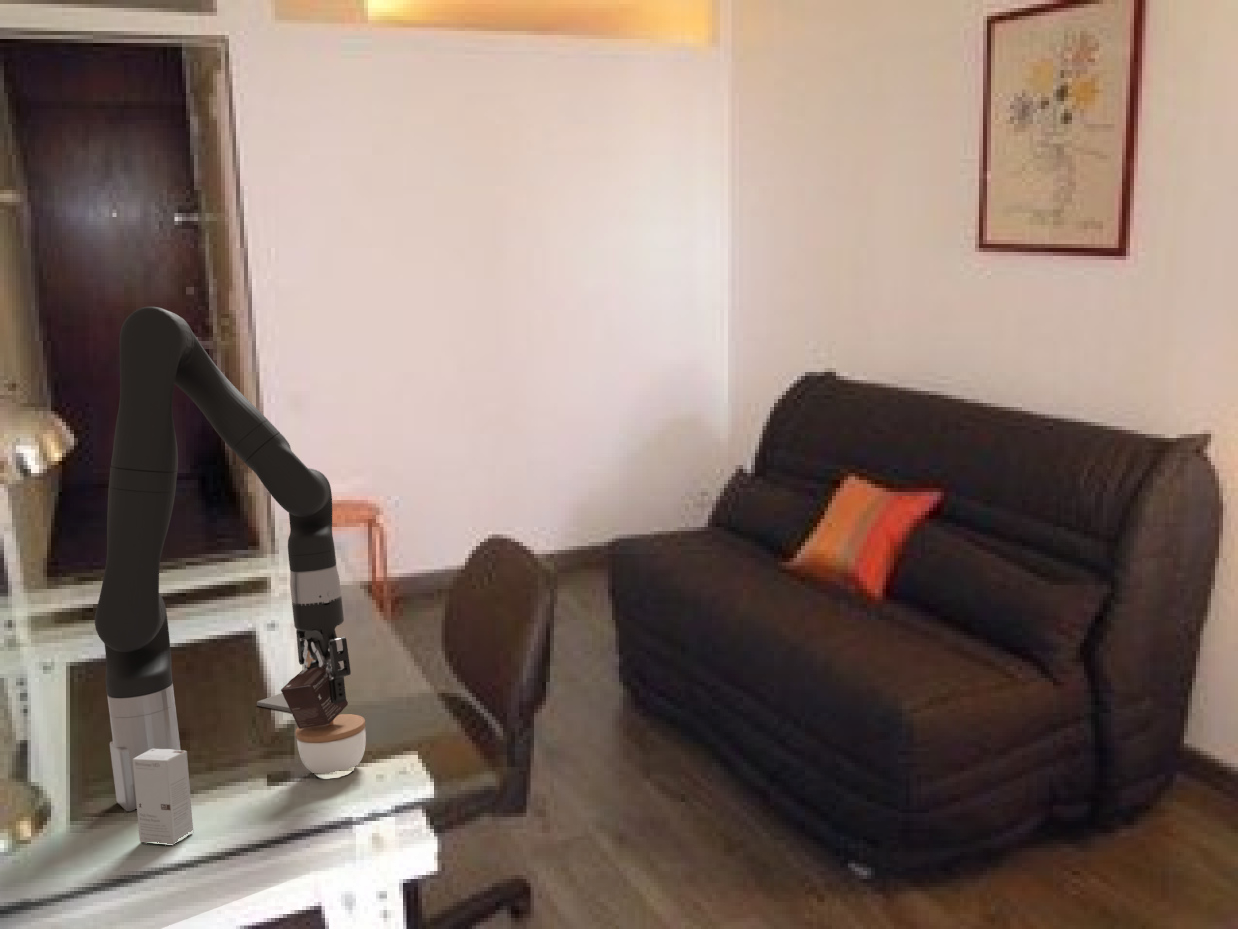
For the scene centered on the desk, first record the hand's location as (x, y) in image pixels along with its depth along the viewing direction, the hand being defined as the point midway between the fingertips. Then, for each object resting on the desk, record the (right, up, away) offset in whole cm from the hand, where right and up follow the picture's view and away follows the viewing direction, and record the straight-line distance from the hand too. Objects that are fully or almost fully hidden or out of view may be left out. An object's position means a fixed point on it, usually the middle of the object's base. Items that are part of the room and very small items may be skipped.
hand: (327, 697), depth 168 cm
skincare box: (-17, -16, -20) cm, 30 cm away
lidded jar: (+1, -12, +1) cm, 12 cm away
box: (0, -3, 0) cm, 3 cm away
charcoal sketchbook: (-17, -10, +42) cm, 46 cm away
